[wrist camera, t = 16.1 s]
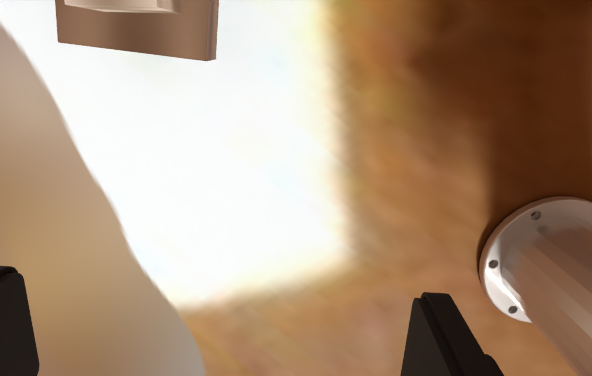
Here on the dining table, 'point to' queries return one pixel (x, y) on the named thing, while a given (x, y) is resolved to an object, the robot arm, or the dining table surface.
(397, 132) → the dining table surface
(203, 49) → the walnut block
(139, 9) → the maple block
